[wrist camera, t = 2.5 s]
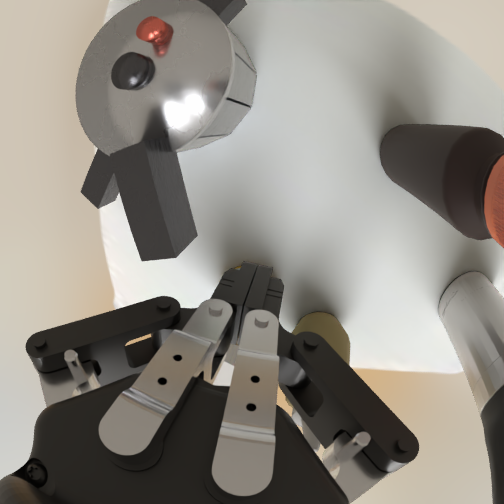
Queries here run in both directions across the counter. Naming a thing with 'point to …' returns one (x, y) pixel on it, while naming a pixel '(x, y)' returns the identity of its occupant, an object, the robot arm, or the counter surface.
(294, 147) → the counter surface
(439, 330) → the counter surface
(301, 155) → the counter surface
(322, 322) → the squeeze bottle
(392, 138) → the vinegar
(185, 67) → the lid
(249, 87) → the pot
